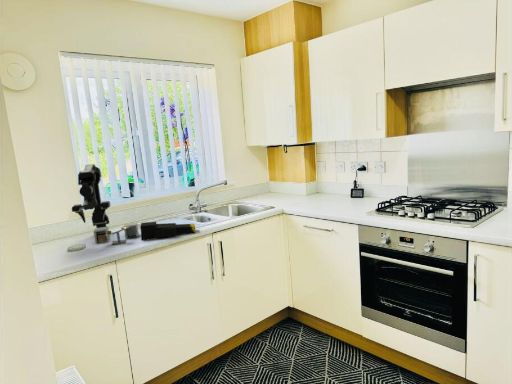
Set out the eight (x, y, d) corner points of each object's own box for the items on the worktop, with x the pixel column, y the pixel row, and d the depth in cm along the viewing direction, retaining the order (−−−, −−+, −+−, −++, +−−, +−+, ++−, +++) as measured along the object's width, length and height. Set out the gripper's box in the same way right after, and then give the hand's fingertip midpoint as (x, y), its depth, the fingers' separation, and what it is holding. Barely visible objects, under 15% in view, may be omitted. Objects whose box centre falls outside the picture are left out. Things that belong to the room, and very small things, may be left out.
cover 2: (126, 235, 216) (124, 223, 215) (138, 234, 217) (137, 222, 216) (125, 238, 209) (123, 226, 208) (138, 237, 211) (136, 224, 210)
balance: (107, 243, 202) (105, 229, 201) (131, 240, 205) (129, 225, 204) (106, 246, 198) (103, 231, 196) (131, 242, 201) (129, 227, 199)
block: (99, 240, 210) (98, 234, 210) (107, 239, 211) (106, 233, 211) (98, 242, 206) (97, 235, 206) (106, 241, 207) (105, 234, 207)
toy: (195, 224, 204) (139, 227, 198) (195, 239, 205) (140, 242, 199) (194, 218, 219) (142, 220, 213) (194, 232, 220) (142, 235, 214)
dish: (69, 247, 201) (69, 245, 201) (87, 245, 203) (87, 243, 203) (65, 252, 192) (65, 250, 192) (83, 249, 194) (83, 247, 194)
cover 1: (97, 240, 211) (95, 228, 210) (110, 238, 213) (108, 226, 212) (95, 243, 205) (93, 230, 204) (108, 241, 206) (106, 229, 205)
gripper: (66, 198, 188) (71, 227, 191) (105, 194, 192) (109, 222, 195) (72, 194, 199) (76, 222, 201) (108, 190, 203) (112, 218, 205)
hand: (93, 221), depth 200 cm, fingers open, 9 cm apart
